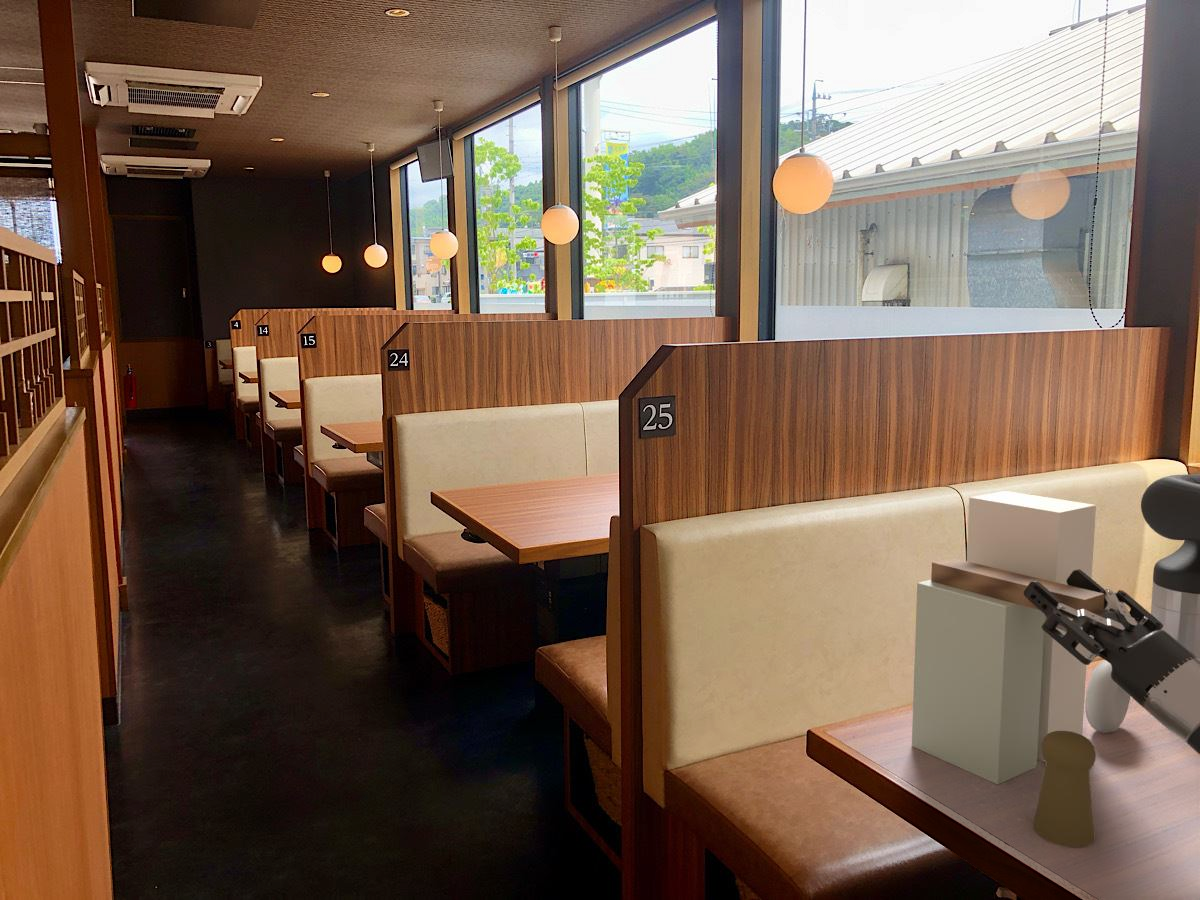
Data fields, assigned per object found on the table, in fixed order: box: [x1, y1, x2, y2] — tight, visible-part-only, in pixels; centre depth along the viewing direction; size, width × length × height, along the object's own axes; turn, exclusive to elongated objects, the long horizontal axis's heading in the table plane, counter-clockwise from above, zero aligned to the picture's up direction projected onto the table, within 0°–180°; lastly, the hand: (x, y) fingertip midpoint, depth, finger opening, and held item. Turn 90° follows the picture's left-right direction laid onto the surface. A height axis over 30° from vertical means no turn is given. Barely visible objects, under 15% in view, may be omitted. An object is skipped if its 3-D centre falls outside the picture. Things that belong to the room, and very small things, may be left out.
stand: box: [911, 490, 1097, 785], centre depth 119 cm, size 12×18×32 cm
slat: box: [930, 557, 1104, 619], centre depth 112 cm, size 20×4×2 cm, turn 33°
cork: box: [1032, 731, 1097, 848], centre depth 100 cm, size 6×6×11 cm
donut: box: [1084, 659, 1131, 734], centre depth 125 cm, size 10×4×10 cm, turn 134°
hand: (1050, 580), depth 108 cm, fingers open, 8 cm apart
